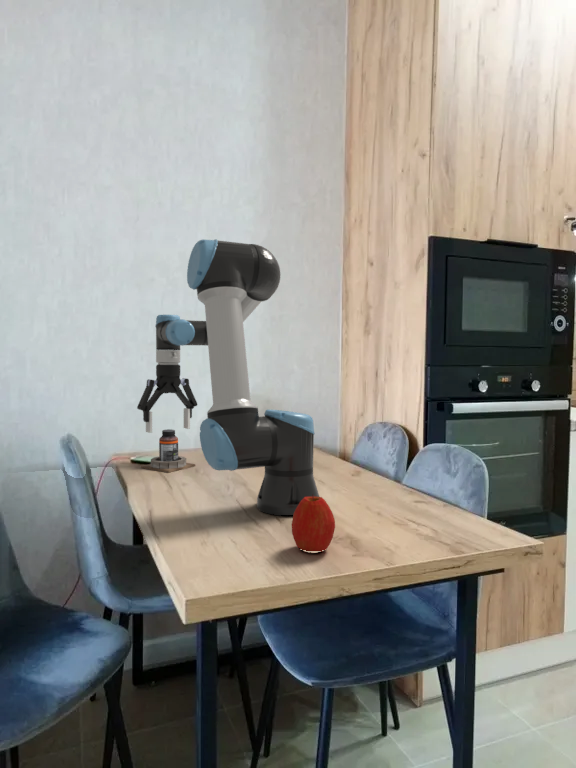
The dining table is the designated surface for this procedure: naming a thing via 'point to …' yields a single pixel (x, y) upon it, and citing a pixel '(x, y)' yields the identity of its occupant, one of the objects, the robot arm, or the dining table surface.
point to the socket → (168, 465)
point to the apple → (313, 524)
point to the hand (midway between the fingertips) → (168, 430)
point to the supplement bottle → (168, 446)
